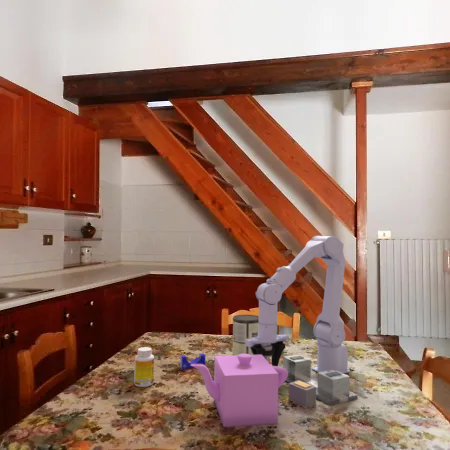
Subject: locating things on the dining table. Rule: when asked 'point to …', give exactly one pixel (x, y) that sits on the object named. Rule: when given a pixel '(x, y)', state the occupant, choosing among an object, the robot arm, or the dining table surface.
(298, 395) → the block
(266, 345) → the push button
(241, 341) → the coffee can
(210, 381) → the teapot
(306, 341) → the dining table surface
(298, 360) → the rail plate
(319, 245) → the robot arm
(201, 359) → the cable holder
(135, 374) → the supplement bottle
